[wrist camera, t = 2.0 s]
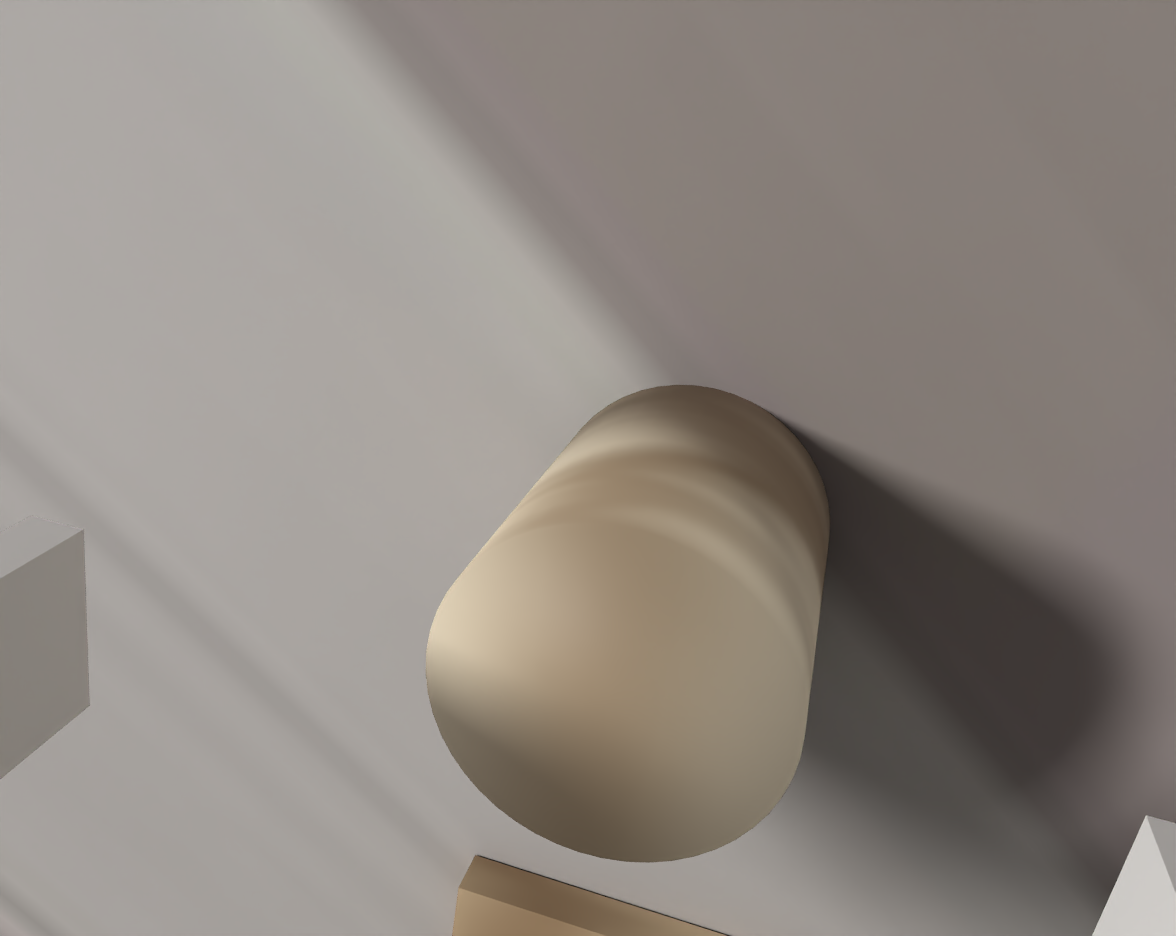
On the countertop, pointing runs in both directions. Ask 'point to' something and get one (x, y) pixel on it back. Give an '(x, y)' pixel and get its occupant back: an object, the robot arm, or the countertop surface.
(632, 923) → the light wood square board
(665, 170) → the countertop surface
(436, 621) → the oak cylinder
